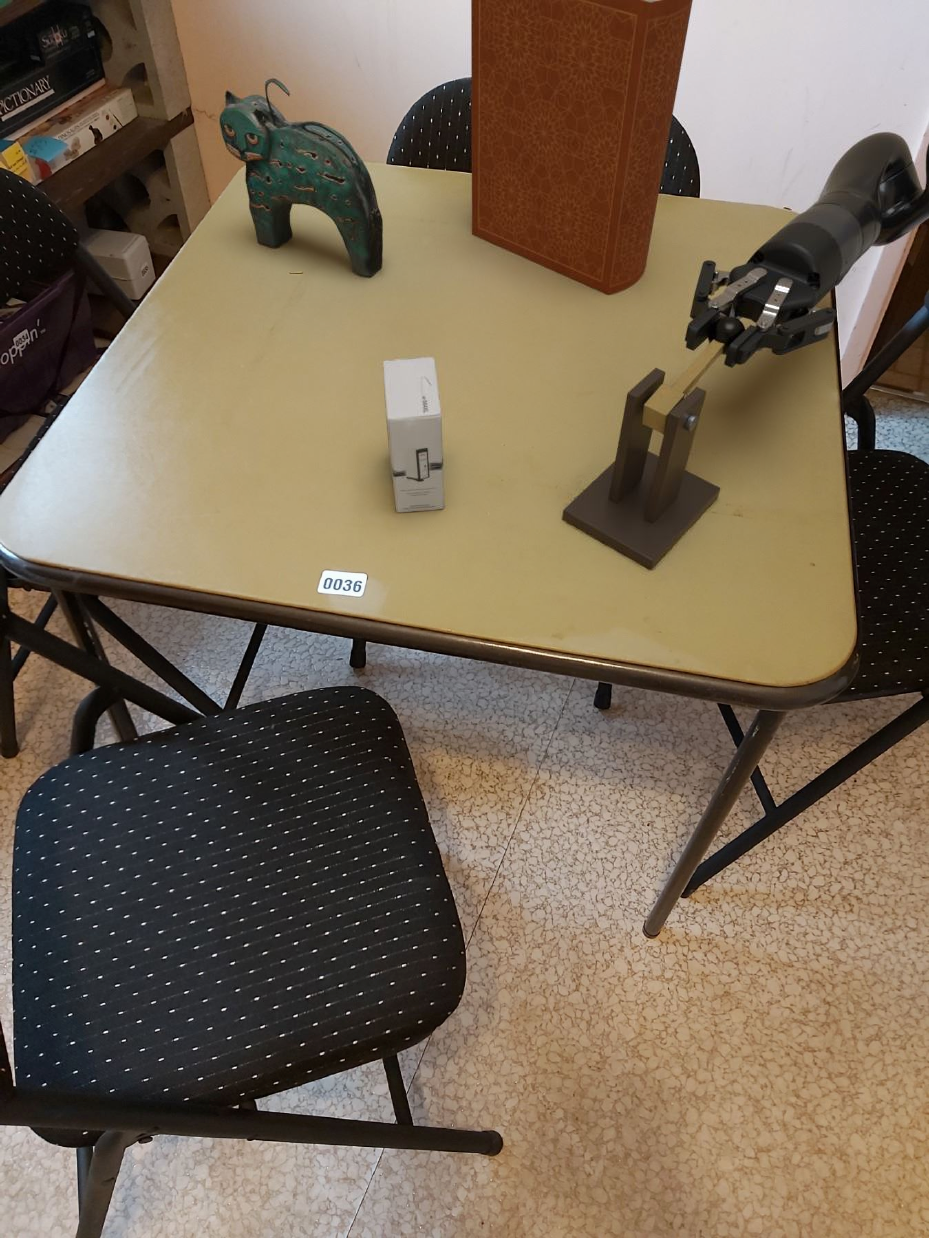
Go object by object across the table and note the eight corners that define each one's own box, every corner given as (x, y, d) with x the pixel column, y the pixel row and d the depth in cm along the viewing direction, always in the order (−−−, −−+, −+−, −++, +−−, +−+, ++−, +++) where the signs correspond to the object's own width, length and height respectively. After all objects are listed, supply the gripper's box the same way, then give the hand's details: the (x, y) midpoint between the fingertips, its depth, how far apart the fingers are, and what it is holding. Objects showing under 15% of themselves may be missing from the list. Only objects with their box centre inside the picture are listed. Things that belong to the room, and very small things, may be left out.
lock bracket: (631, 452, 85) (654, 335, 74) (717, 497, 81) (756, 380, 70) (561, 519, 80) (576, 403, 69) (650, 570, 76) (681, 456, 65)
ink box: (390, 454, 85) (379, 356, 76) (438, 450, 86) (434, 352, 76) (395, 515, 80) (384, 418, 71) (446, 510, 81) (443, 414, 71)
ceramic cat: (242, 244, 110) (202, 73, 94) (272, 221, 113) (239, 53, 97) (367, 286, 103) (348, 111, 87) (396, 261, 107) (382, 88, 91)
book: (471, 234, 111) (471, -46, 86) (510, 209, 114) (520, -66, 90) (615, 298, 102) (659, 5, 77) (652, 269, 105) (705, -19, 81)
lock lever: (718, 331, 76) (723, 303, 74) (749, 345, 75) (755, 317, 72) (637, 424, 73) (638, 398, 70) (668, 440, 71) (671, 415, 69)
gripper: (748, 198, 80) (647, 281, 72) (891, 249, 74) (797, 343, 66) (730, 271, 86) (635, 354, 78) (860, 323, 80) (772, 417, 73)
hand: (710, 348), depth 72 cm, fingers closed on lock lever, 3 cm apart
